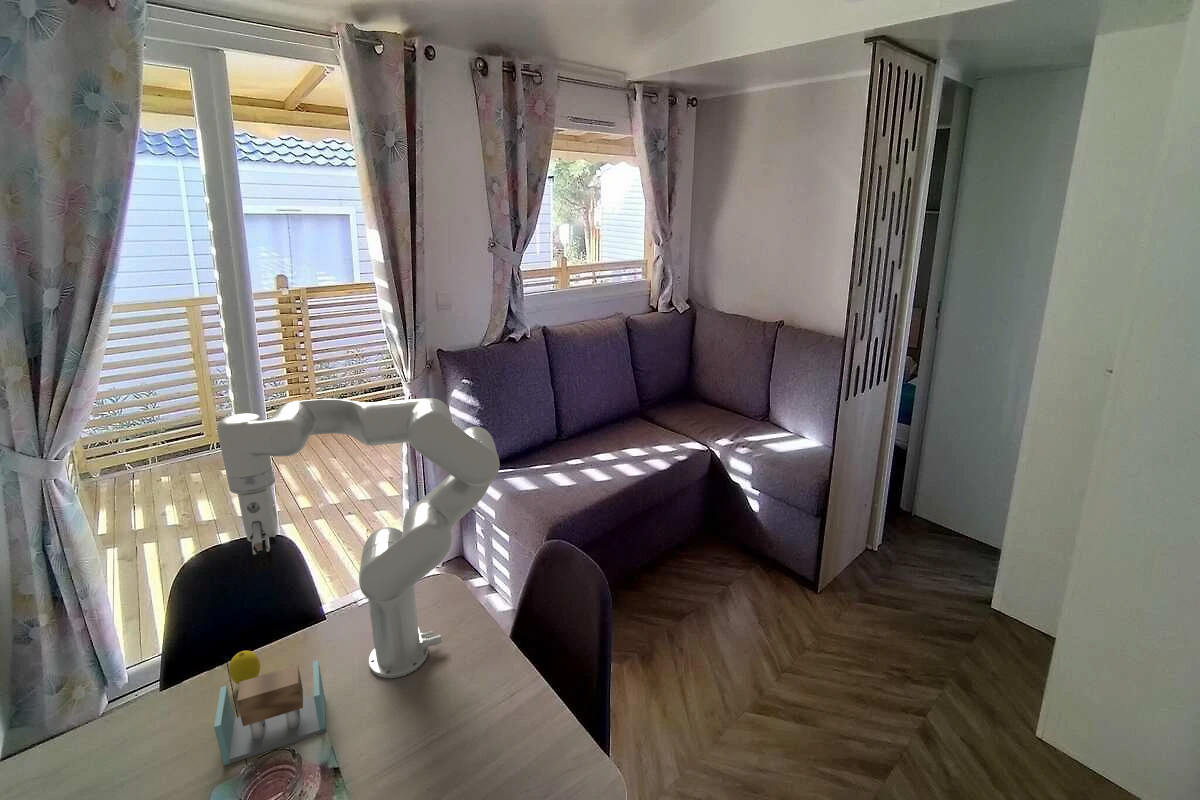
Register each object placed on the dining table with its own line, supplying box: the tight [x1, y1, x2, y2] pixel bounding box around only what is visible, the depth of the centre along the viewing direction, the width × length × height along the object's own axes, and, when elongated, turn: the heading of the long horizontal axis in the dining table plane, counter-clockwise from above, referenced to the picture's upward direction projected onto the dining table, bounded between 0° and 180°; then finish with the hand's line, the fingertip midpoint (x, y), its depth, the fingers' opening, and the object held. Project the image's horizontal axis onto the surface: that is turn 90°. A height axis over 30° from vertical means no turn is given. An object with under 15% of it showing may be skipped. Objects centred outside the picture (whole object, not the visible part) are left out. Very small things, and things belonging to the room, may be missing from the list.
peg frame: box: [213, 659, 327, 766], centre depth 114 cm, size 17×10×9 cm, turn 116°
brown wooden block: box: [236, 665, 304, 726], centre depth 113 cm, size 10×5×6 cm, turn 116°
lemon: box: [228, 650, 261, 685], centre depth 125 cm, size 6×6×8 cm
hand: (266, 556), depth 118 cm, fingers open, 9 cm apart
